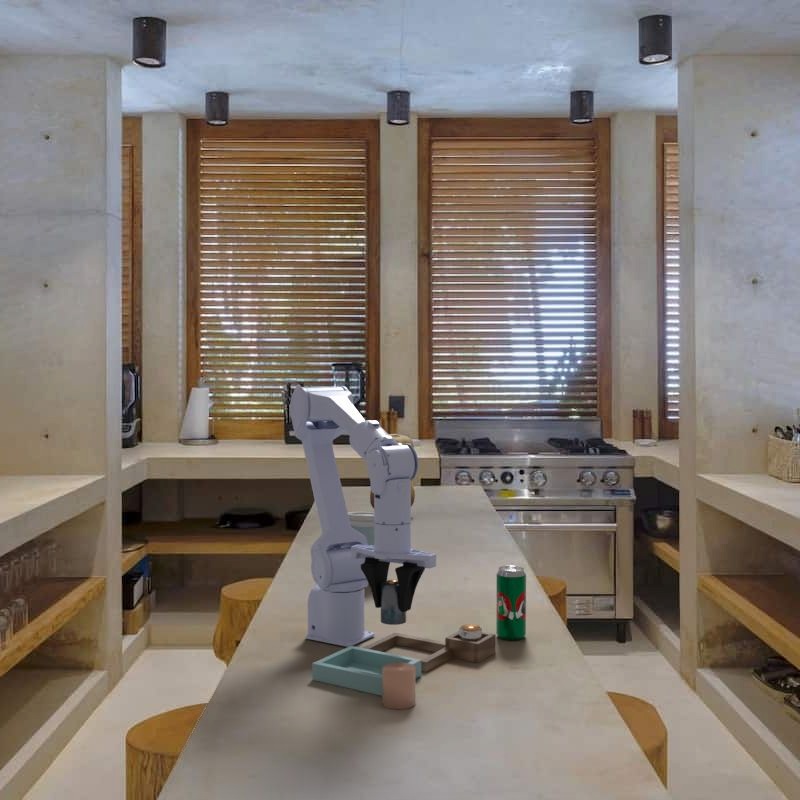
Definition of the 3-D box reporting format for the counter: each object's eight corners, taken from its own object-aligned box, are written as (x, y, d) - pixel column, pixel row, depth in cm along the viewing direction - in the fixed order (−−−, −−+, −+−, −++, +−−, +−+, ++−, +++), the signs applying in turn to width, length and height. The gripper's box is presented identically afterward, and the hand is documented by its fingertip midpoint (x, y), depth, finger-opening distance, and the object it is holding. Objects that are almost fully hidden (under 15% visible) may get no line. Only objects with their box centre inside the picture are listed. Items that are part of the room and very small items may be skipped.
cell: (375, 622, 144) (375, 581, 144) (389, 616, 148) (389, 576, 147) (397, 626, 142) (397, 584, 142) (411, 620, 146) (411, 579, 145)
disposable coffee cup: (348, 574, 206) (348, 507, 205) (395, 576, 204) (395, 508, 203) (335, 585, 196) (335, 515, 195) (385, 588, 194) (385, 516, 193)
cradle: (359, 658, 148) (359, 648, 148) (394, 641, 157) (394, 632, 157) (426, 671, 142) (426, 662, 142) (458, 653, 150) (458, 644, 150)
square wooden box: (445, 656, 149) (445, 637, 149) (463, 646, 154) (463, 628, 154) (478, 662, 146) (478, 644, 146) (495, 652, 151) (495, 634, 151)
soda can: (523, 632, 162) (523, 564, 161) (528, 641, 157) (528, 571, 156) (494, 632, 162) (494, 564, 161) (498, 641, 157) (498, 571, 156)
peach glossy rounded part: (376, 704, 128) (375, 669, 128) (394, 694, 132) (393, 660, 132) (404, 711, 126) (404, 675, 126) (421, 700, 130) (421, 665, 130)
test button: (455, 644, 149) (455, 627, 149) (466, 639, 153) (466, 622, 152) (475, 648, 148) (475, 631, 147) (485, 642, 151) (485, 625, 150)
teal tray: (312, 679, 138) (312, 663, 138) (351, 661, 147) (351, 645, 147) (384, 696, 132) (384, 679, 131) (421, 676, 140) (421, 659, 140)
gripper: (339, 521, 145) (340, 607, 145) (419, 530, 137) (420, 621, 138) (364, 515, 151) (365, 597, 151) (442, 523, 143) (443, 610, 144)
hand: (392, 608), depth 145 cm, fingers closed on cell, 4 cm apart
